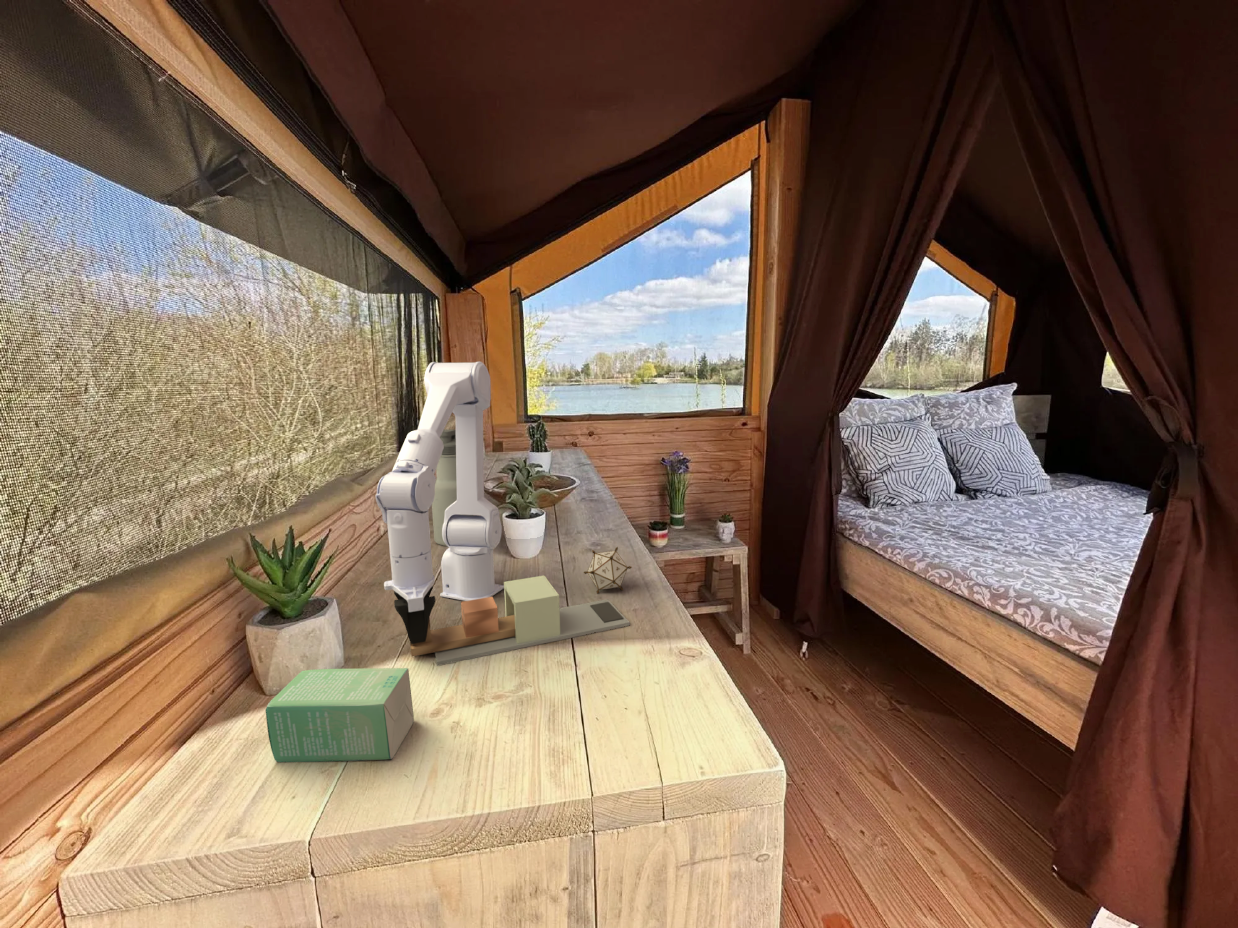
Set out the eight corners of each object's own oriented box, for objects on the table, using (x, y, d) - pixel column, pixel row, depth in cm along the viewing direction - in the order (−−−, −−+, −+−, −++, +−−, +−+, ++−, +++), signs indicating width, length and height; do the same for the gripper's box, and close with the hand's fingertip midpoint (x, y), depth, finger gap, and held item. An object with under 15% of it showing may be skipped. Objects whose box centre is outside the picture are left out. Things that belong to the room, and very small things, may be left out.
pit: (604, 622, 92) (604, 621, 91) (590, 606, 98) (590, 605, 98) (623, 618, 93) (623, 617, 93) (608, 602, 99) (608, 601, 99)
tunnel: (517, 647, 85) (515, 602, 84) (505, 622, 93) (503, 581, 92) (560, 638, 88) (559, 595, 86) (545, 615, 96) (544, 575, 94)
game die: (614, 610, 106) (624, 583, 99) (574, 592, 107) (581, 564, 100) (630, 574, 112) (640, 547, 105) (592, 558, 113) (600, 529, 106)
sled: (411, 656, 81) (408, 620, 80) (410, 641, 85) (407, 607, 84) (548, 629, 89) (547, 596, 88) (540, 616, 93) (539, 585, 92)
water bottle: (445, 533, 143) (438, 427, 138) (481, 534, 142) (475, 427, 137) (427, 546, 133) (418, 432, 128) (465, 547, 132) (458, 432, 127)
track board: (437, 665, 80) (436, 661, 80) (431, 635, 89) (431, 631, 89) (629, 625, 92) (629, 622, 92) (607, 602, 101) (607, 599, 101)
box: (306, 720, 68) (300, 666, 66) (415, 720, 68) (410, 665, 66) (269, 763, 61) (261, 703, 59) (391, 763, 61) (385, 703, 59)
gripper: (381, 540, 86) (389, 620, 88) (381, 572, 73) (389, 665, 75) (428, 535, 88) (434, 613, 91) (436, 564, 75) (443, 654, 78)
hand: (417, 636), depth 83 cm, fingers closed on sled, 3 cm apart
